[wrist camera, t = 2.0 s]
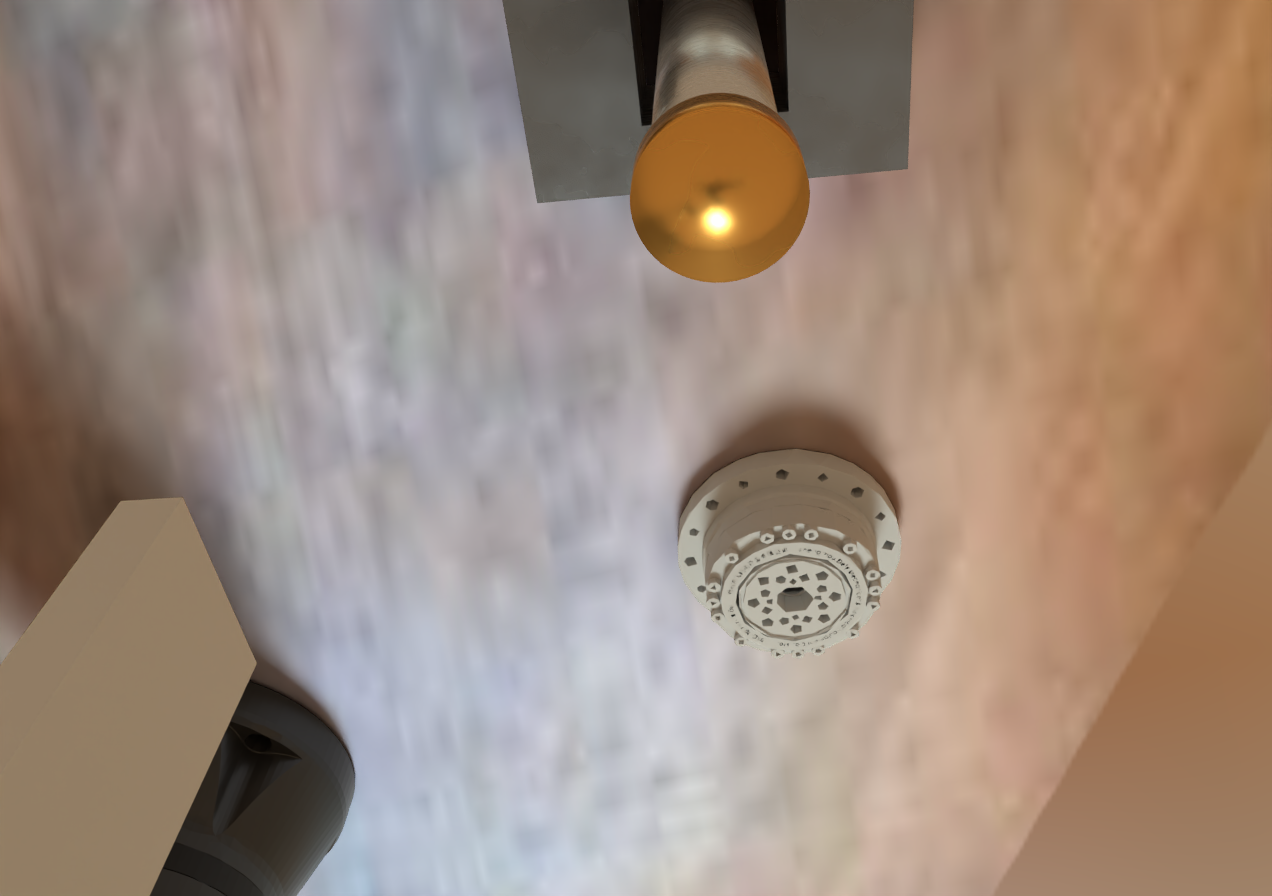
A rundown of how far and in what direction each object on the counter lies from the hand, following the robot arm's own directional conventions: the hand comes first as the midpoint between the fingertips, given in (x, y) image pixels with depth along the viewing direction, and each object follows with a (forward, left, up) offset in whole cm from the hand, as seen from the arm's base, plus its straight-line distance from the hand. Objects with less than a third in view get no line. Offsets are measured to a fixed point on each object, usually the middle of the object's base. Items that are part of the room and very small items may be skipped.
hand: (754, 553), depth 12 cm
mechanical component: (+2, -23, -29) cm, 37 cm away
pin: (0, 0, -28) cm, 28 cm away
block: (0, 0, -28) cm, 28 cm away
